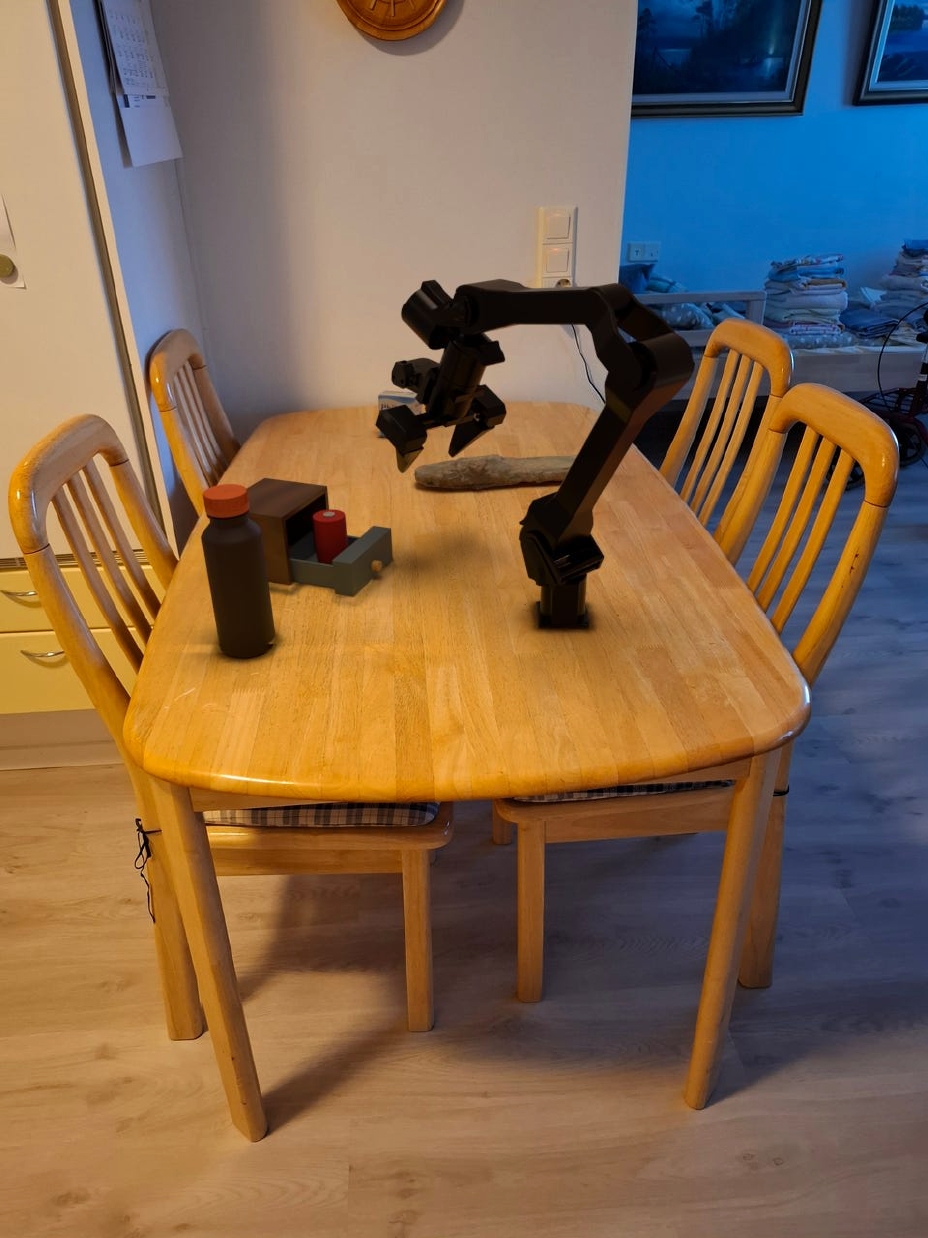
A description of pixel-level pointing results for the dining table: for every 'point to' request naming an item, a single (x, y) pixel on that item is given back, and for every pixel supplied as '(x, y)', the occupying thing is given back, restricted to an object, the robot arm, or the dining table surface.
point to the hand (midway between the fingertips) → (426, 462)
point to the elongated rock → (493, 471)
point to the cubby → (284, 519)
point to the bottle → (237, 573)
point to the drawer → (343, 561)
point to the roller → (330, 534)
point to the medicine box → (398, 401)
